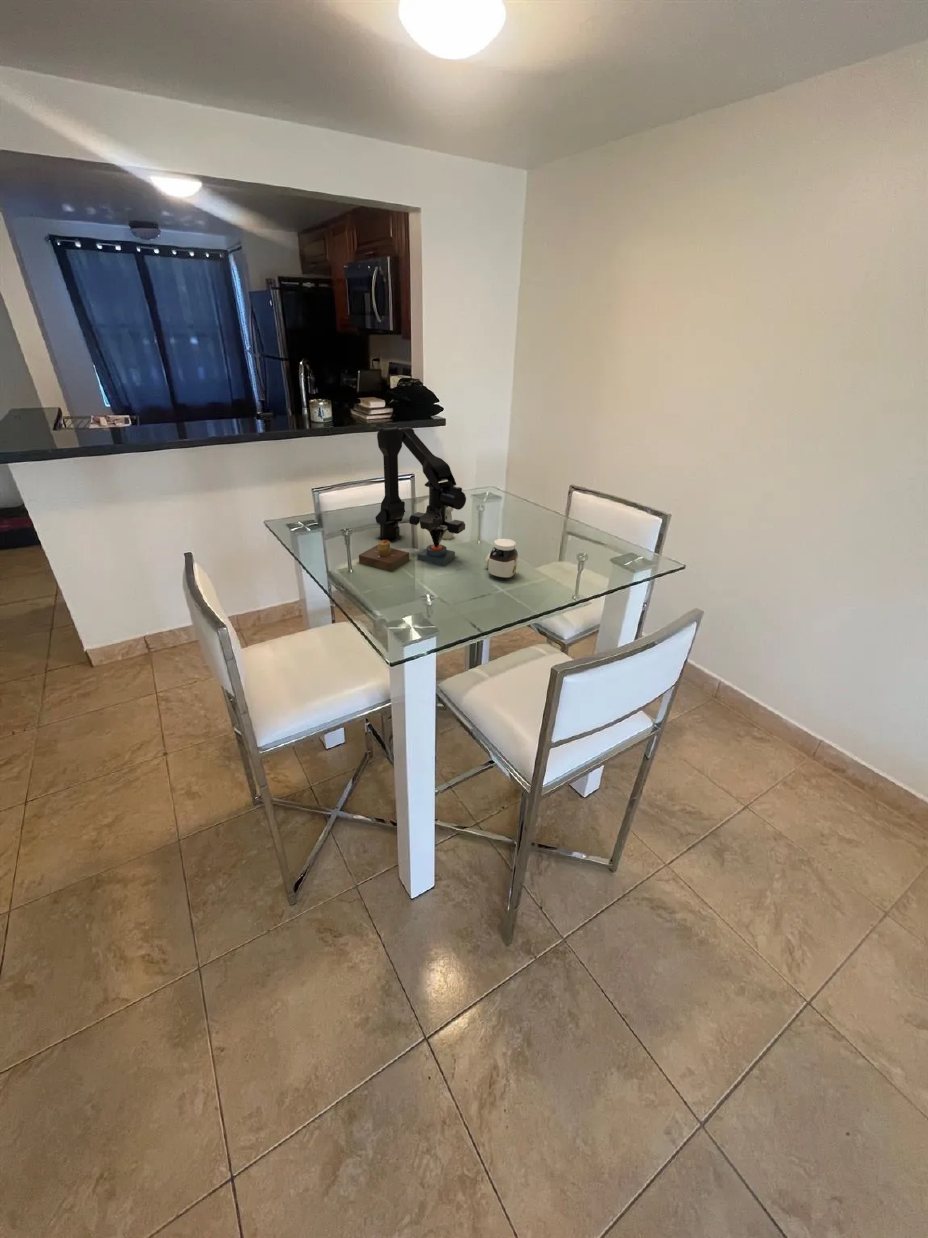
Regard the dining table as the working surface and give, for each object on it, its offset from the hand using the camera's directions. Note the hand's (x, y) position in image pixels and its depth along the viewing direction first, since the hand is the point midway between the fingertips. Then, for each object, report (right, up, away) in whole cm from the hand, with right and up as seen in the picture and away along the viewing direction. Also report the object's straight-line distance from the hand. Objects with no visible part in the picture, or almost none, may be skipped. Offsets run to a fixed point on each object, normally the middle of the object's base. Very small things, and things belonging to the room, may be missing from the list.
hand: (436, 546), depth 176 cm
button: (0, -2, +1) cm, 2 cm away
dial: (-17, -3, -4) cm, 18 cm away
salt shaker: (+3, +6, +21) cm, 22 cm away
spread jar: (+21, -10, -6) cm, 24 cm away
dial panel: (-18, -6, -2) cm, 19 cm away
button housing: (0, -4, +2) cm, 4 cm away
